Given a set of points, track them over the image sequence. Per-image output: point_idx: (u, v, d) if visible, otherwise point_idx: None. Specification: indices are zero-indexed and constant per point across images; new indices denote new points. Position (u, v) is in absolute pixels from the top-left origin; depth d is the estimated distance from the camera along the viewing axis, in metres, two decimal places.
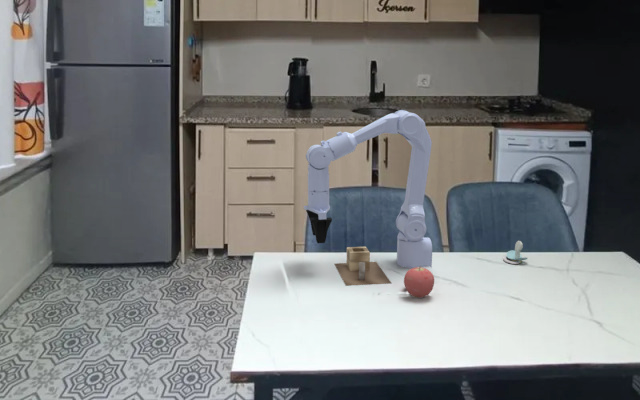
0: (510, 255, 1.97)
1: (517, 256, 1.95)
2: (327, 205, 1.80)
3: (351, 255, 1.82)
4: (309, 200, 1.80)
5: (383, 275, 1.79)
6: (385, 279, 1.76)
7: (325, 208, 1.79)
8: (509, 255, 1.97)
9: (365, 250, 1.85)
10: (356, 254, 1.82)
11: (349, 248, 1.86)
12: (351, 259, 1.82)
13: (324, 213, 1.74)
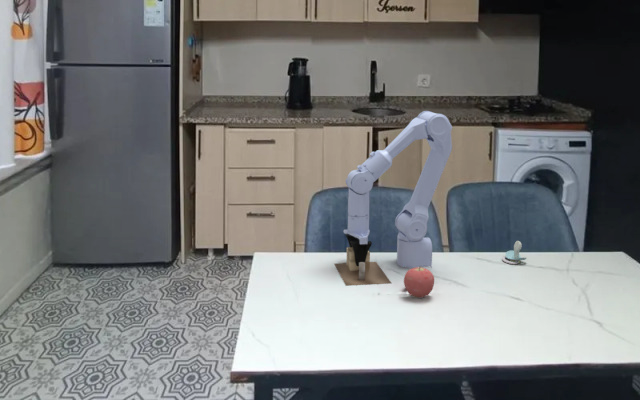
0: (509, 255, 1.97)
1: (516, 256, 1.95)
2: (367, 229, 1.82)
3: (351, 255, 1.82)
4: (349, 224, 1.82)
5: (383, 275, 1.79)
6: (385, 279, 1.76)
7: (365, 232, 1.81)
8: (508, 255, 1.97)
9: None
10: None
11: (349, 248, 1.86)
12: (351, 259, 1.82)
13: (365, 238, 1.77)
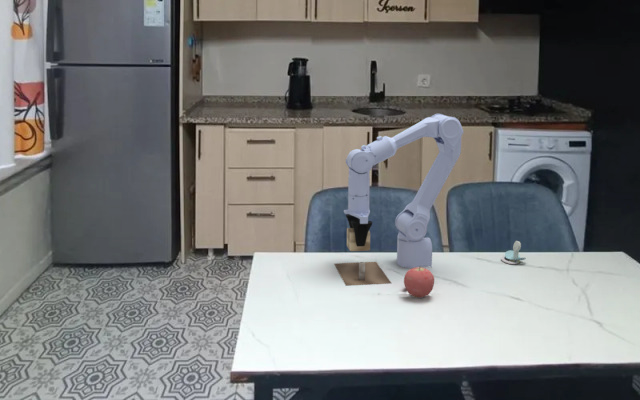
0: (508, 255, 1.97)
1: (515, 256, 1.95)
2: (367, 209, 1.81)
3: (351, 235, 1.81)
4: (350, 204, 1.81)
5: (383, 275, 1.79)
6: (385, 279, 1.76)
7: (366, 212, 1.80)
8: (507, 255, 1.97)
9: None
10: None
11: (349, 229, 1.85)
12: (351, 239, 1.81)
13: (366, 217, 1.75)
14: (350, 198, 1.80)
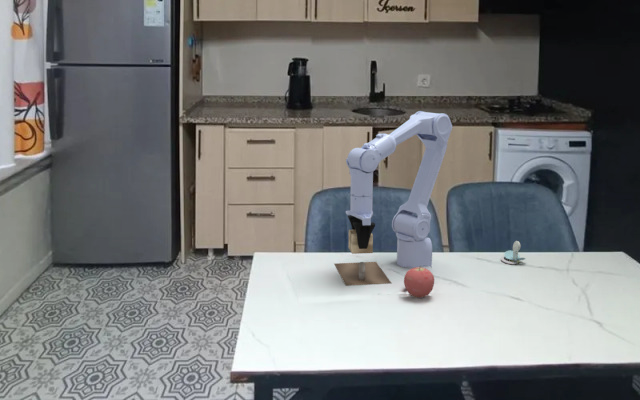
0: (508, 255, 1.97)
1: (515, 256, 1.95)
2: (370, 210, 1.73)
3: (353, 237, 1.74)
4: (352, 205, 1.73)
5: (383, 275, 1.79)
6: (385, 279, 1.76)
7: (368, 213, 1.73)
8: (507, 255, 1.97)
9: None
10: None
11: (351, 230, 1.78)
12: (353, 241, 1.74)
13: (368, 219, 1.68)
14: (352, 198, 1.73)
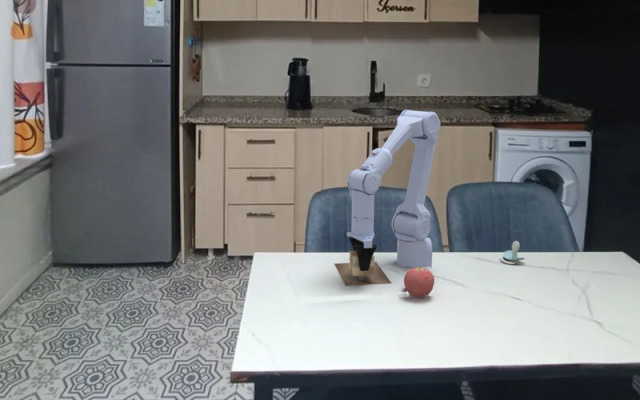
0: (507, 255, 1.97)
1: (514, 256, 1.95)
2: (372, 232, 1.72)
3: (354, 259, 1.72)
4: (353, 227, 1.72)
5: (383, 275, 1.79)
6: (385, 279, 1.76)
7: (370, 235, 1.71)
8: (506, 255, 1.97)
9: None
10: None
11: (352, 252, 1.76)
12: (354, 264, 1.72)
13: (370, 241, 1.66)
14: (353, 220, 1.71)
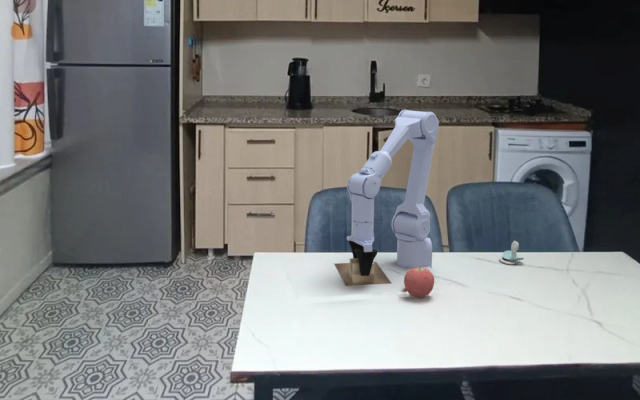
0: (506, 255, 1.97)
1: (513, 256, 1.95)
2: (372, 236, 1.72)
3: (354, 267, 1.72)
4: (353, 231, 1.72)
5: (383, 275, 1.79)
6: (385, 279, 1.76)
7: (370, 239, 1.71)
8: (505, 255, 1.97)
9: None
10: None
11: (352, 259, 1.76)
12: (354, 271, 1.73)
13: (370, 245, 1.67)
14: (353, 224, 1.71)
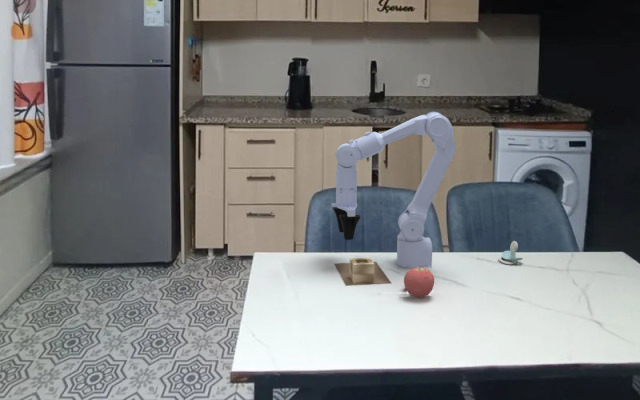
0: (505, 255, 1.97)
1: (512, 256, 1.95)
2: (355, 203, 1.84)
3: (354, 267, 1.72)
4: (337, 198, 1.84)
5: (383, 275, 1.79)
6: (385, 279, 1.76)
7: (353, 205, 1.83)
8: (504, 255, 1.97)
9: (369, 261, 1.75)
10: (360, 266, 1.72)
11: (352, 259, 1.76)
12: (354, 271, 1.73)
13: (353, 210, 1.79)
14: (338, 191, 1.83)
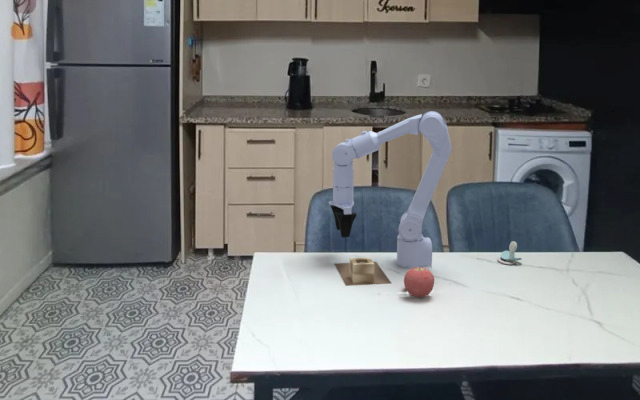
0: (504, 255, 1.97)
1: (511, 256, 1.95)
2: (351, 201, 1.87)
3: (354, 267, 1.72)
4: (334, 196, 1.87)
5: (383, 275, 1.79)
6: (385, 279, 1.76)
7: (350, 203, 1.86)
8: (503, 255, 1.97)
9: (369, 261, 1.75)
10: (360, 266, 1.72)
11: (352, 259, 1.76)
12: (354, 271, 1.73)
13: (349, 208, 1.82)
14: (335, 190, 1.86)
